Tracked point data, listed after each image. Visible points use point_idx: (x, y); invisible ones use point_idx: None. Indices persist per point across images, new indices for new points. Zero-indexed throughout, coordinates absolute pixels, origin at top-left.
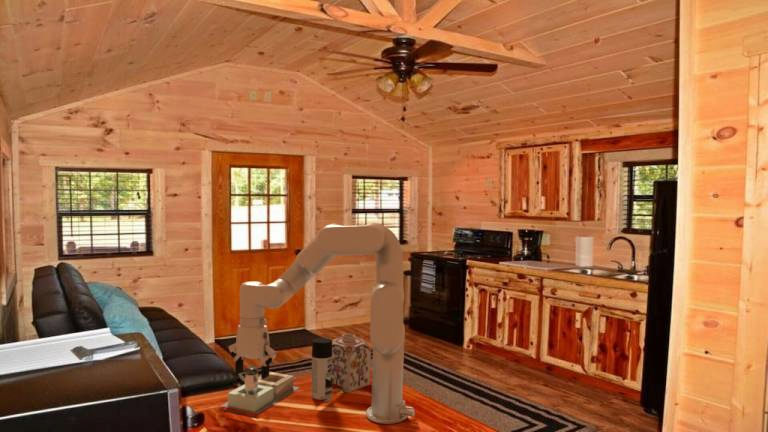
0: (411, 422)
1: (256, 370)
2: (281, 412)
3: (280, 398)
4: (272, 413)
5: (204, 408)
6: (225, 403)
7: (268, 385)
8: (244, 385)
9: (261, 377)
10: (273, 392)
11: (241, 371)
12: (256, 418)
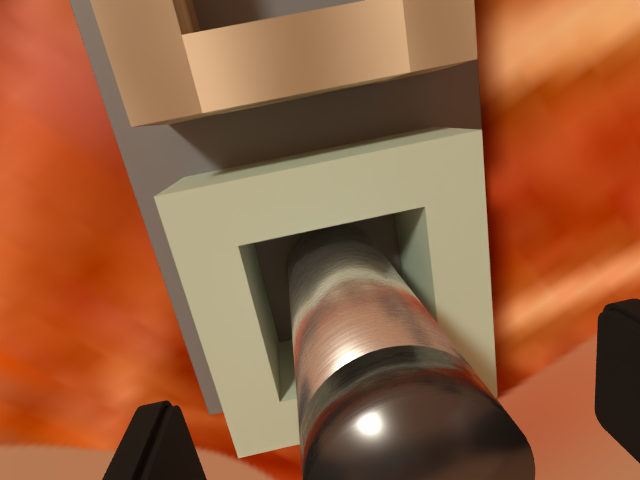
0: None
1: (525, 466)
2: (545, 187)
3: (462, 65)
4: (504, 232)
5: (112, 430)
6: (203, 377)
7: (364, 82)
8: (197, 268)
9: (607, 428)
10: (407, 75)
11: (187, 447)
12: None
